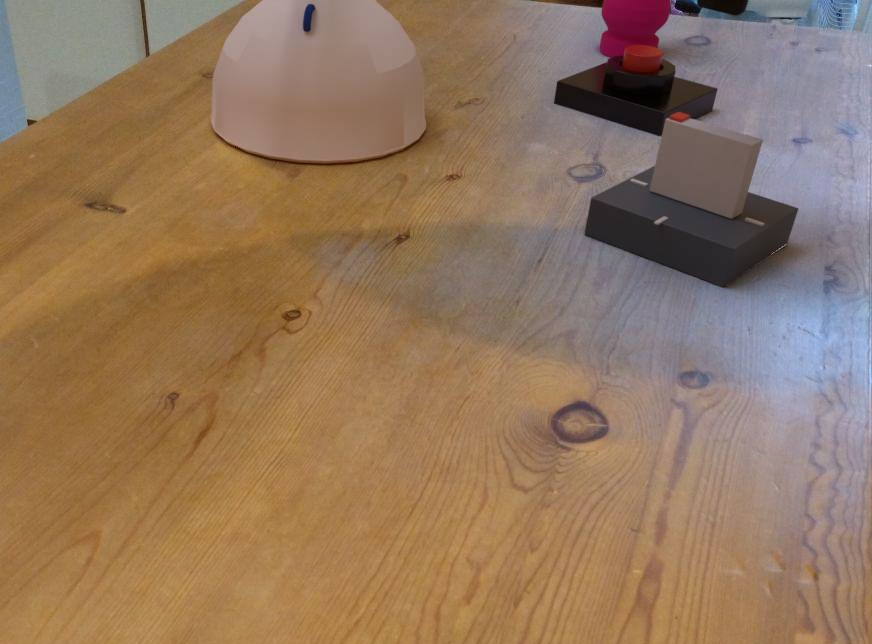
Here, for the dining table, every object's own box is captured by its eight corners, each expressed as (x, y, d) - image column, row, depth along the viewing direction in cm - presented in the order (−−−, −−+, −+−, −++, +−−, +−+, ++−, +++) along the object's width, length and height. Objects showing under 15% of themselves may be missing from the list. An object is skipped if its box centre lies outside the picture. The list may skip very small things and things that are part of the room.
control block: (712, 111, 104) (723, 68, 102) (659, 136, 99) (669, 92, 96) (608, 81, 111) (616, 40, 108) (553, 103, 105) (559, 61, 102)
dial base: (790, 242, 82) (803, 203, 80) (719, 290, 76) (731, 249, 74) (655, 196, 88) (663, 159, 86) (579, 236, 82) (586, 197, 80)
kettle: (437, 95, 106) (454, -114, 94) (412, 175, 91) (430, -63, 79) (240, 79, 109) (233, -127, 97) (183, 154, 93) (167, -80, 81)
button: (666, 70, 102) (670, 51, 101) (646, 78, 100) (650, 58, 99) (634, 61, 104) (637, 42, 103) (614, 69, 102) (617, 50, 101)
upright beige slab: (742, 213, 79) (764, 136, 75) (731, 219, 78) (753, 141, 74) (659, 185, 82) (677, 110, 79) (648, 191, 82) (665, 115, 78)
